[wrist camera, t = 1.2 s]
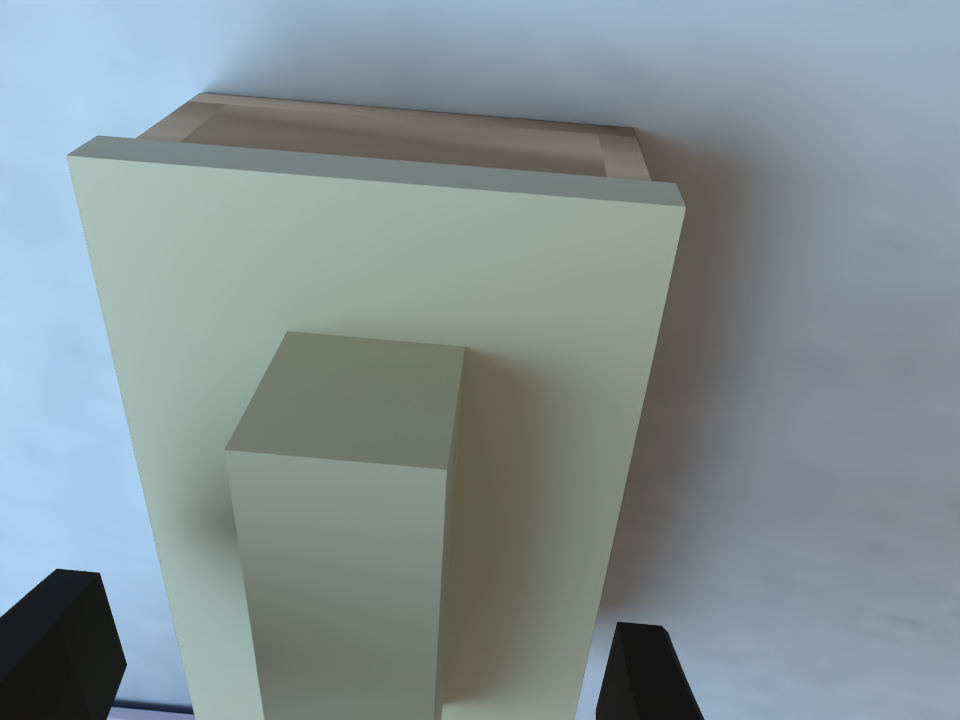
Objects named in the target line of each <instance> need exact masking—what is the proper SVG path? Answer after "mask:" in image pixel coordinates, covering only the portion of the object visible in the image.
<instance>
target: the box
mask: <svg viewBox="0 0 960 720" xmlns="http://www.w3.org/2000/svg"><path fill="white" fill-rule="evenodd" d="M135 139H146V140H158V141H171V142H183V143H195V144H207V145H219V146H231V147H244V148H256V149H268V150H280V151H292V152H304V153H317V154H329V155H341V156H353V157H365V158H377V159H390V160H402V161H414V162H426V163H438V164H450V165H463V166H475V167H487V168H499V169H511V170H523V171H536V172H548V173H560V174H572V175H584V176H596V177H609V178H621V179H633V180H645V181H652V180H651V177H650V174H649V171H648V169H647V166H646V163H645V160H644V157H643V154H642V151H641V149H640V146H639V143H638V140H637V137H636V134H635V131H634V129H633V128H626V127H614V126H602V125H589V124H577V123H565V122H552V121H540V120H528V119H515V118H503V117H491V116H478V115H466V114H454V113H441V112H429V111H417V110H404V109H392V108H380V107H367V106H355V105H343V104H330V103H318V102H305V101H293V100H281V99H268V98H256V97H244V96H231V95H219V94H207V93H199V94H198V95H196V96H195V97H193V98H192V99H191V100H189V101H188V102H186V103H185V104H184V105H182V106H181V107H179V108H178V109H176V110H175V111H174V112H172V113H171V114H169V115H168V116H167V117H165V118H164V119H162V120H161V121H159V122H158V123H157V124H155V125H154V126H152V127H151V128H150V129H148V130H147V131H145V132H144V133H143V134H141V135H140V136H138V137H137V138H135Z"/></svg>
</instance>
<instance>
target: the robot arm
mask: <svg viewBox="0 0 960 720" xmlns="http://www.w3.org/2000/svg"><path fill="white" fill-rule="evenodd" d="M126 666H127V663H126V660H125V656H124V653H123V650H122V646H121V643H120V639H119V636H118V633H117V629H116V626H115V623H114V619H113V616H112V612H111V609H110V606H109V602H108V599H107V596H106V592H105V589H104V585H103V582H102V579H101V575H100V573H96V572H86V571H75V570H65V569H56V570H55V571H53V572H52V573H51V574H50V575H49V576H47V577H46V578H45V579H44V580H43V581H42V582H40V583H39V584H38V585H37V586H36V587H35V588H33V589H32V590H31V591H30V592H29V593H28V594H27V595H25V596H24V597H23V598H22V599H21V600H20V601H19V602H17V603H16V604H15V605H14V606H13V607H12V608H11V609H9V610H8V611H7V612H6V613H5V614H4V615H3V616H1V617H0V720H195V716H194V715H193V714H182V713H172V712H161V711H151V710H140V709H130V708H119V707H112V705H113V702H114V699H115V696H116V694H117V691H118V688H119V685H120V683H121V680H122V677H123V674H124V672H125V669H126ZM596 720H704V717H703V715H702V713H701V711H700V709H699V707H698V704H697V702H696V700H695V698H694V695H693V693H692V691H691V688H690V686H689V684H688V682H687V679H686V677H685V674H684V672H683V670H682V667H681V665H680V662H679V660H678V657H677V655H676V652H675V650H674V647H673V644H672V642H671V639H670V636H669V633H668V632H667V631H666V630H665V629H664V628H663V627H662V626H657V625H647V624H636V623H625V622H617V625H616V629H615V633H614V637H613V642H612V646H611V650H610V654H609V658H608V662H607V666H606V670H605V675H604V679H603V683H602V687H601V691H600V695H599V699H598V703H597V707H596Z"/></svg>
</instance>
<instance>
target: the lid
mask: <svg viewBox="0 0 960 720" xmlns="http://www.w3.org/2000/svg"><path fill="white" fill-rule="evenodd" d="M66 157H67V161H68V165H69V170H70V174H71V179H72V183H73V187H74V192H75V196H76V200H77V205H78V209H79V214H80V218H81V222H82V227H83V231H84V235H85V240H86V244H87V248H88V253H89V257H90V262H91V266H92V270H93V275H94V279H95V283H96V288H97V292H98V296H99V301H100V305H101V310H102V314H103V318H104V323H105V327H106V331H107V336H108V340H109V344H110V349H111V353H112V358H113V362H114V366H115V371H116V375H117V379H118V384H119V388H120V392H121V397H122V401H123V406H124V410H125V414H126V419H127V423H128V427H129V432H130V436H131V441H132V445H133V449H134V454H135V458H136V462H137V467H138V471H139V475H140V480H141V484H142V489H143V493H144V497H145V502H146V506H147V510H148V515H149V519H150V523H151V528H152V532H153V537H154V541H155V545H156V550H157V554H158V558H159V563H160V567H161V571H162V576H163V580H164V585H165V589H166V593H167V598H168V602H169V606H170V611H171V615H172V620H173V624H174V628H175V633H176V637H177V641H178V646H179V650H180V654H181V659H182V663H183V668H184V672H185V676H186V681H187V685H188V689H189V694H190V698H191V702H192V707H193V711H194V716H195V720H574V719H575V714H576V710H577V705H578V700H579V696H580V691H581V687H582V682H583V678H584V673H585V668H586V664H587V659H588V655H589V650H590V645H591V641H592V636H593V632H594V627H595V623H596V618H597V613H598V609H599V604H600V600H601V595H602V590H603V586H604V581H605V577H606V572H607V568H608V563H609V558H610V554H611V549H612V545H613V540H614V535H615V531H616V526H617V522H618V517H619V513H620V508H621V503H622V499H623V494H624V490H625V485H626V480H627V476H628V471H629V467H630V462H631V457H632V453H633V448H634V444H635V439H636V435H637V430H638V425H639V421H640V416H641V412H642V407H643V402H644V398H645V393H646V389H647V384H648V380H649V375H650V370H651V366H652V361H653V357H654V352H655V347H656V343H657V338H658V334H659V329H660V325H661V320H662V315H663V311H664V306H665V302H666V297H667V292H668V288H669V283H670V279H671V274H672V270H673V265H674V260H675V256H676V251H677V247H678V242H679V237H680V233H681V228H682V224H683V219H684V214H685V210H686V205H685V203H684V201H683V198H682V196H681V193H680V191H679V189H678V186H677V184H676V183H670V182H657V181H645V180H633V179H621V178H609V177H596V176H584V175H572V174H560V173H548V172H536V171H523V170H511V169H499V168H487V167H475V166H463V165H450V164H438V163H426V162H414V161H402V160H390V159H377V158H365V157H353V156H341V155H329V154H317V153H304V152H292V151H280V150H268V149H256V148H244V147H231V146H219V145H207V144H195V143H183V142H171V141H158V140H146V139H134V138H122V137H110V136H96V137H95V138H93V139H92V140H90V141H88V142H87V143H85V144H84V145H82V146H81V147H79V148H77V149H76V150H74V151H73V152H71V153H70V154H68V155H66Z"/></svg>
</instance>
